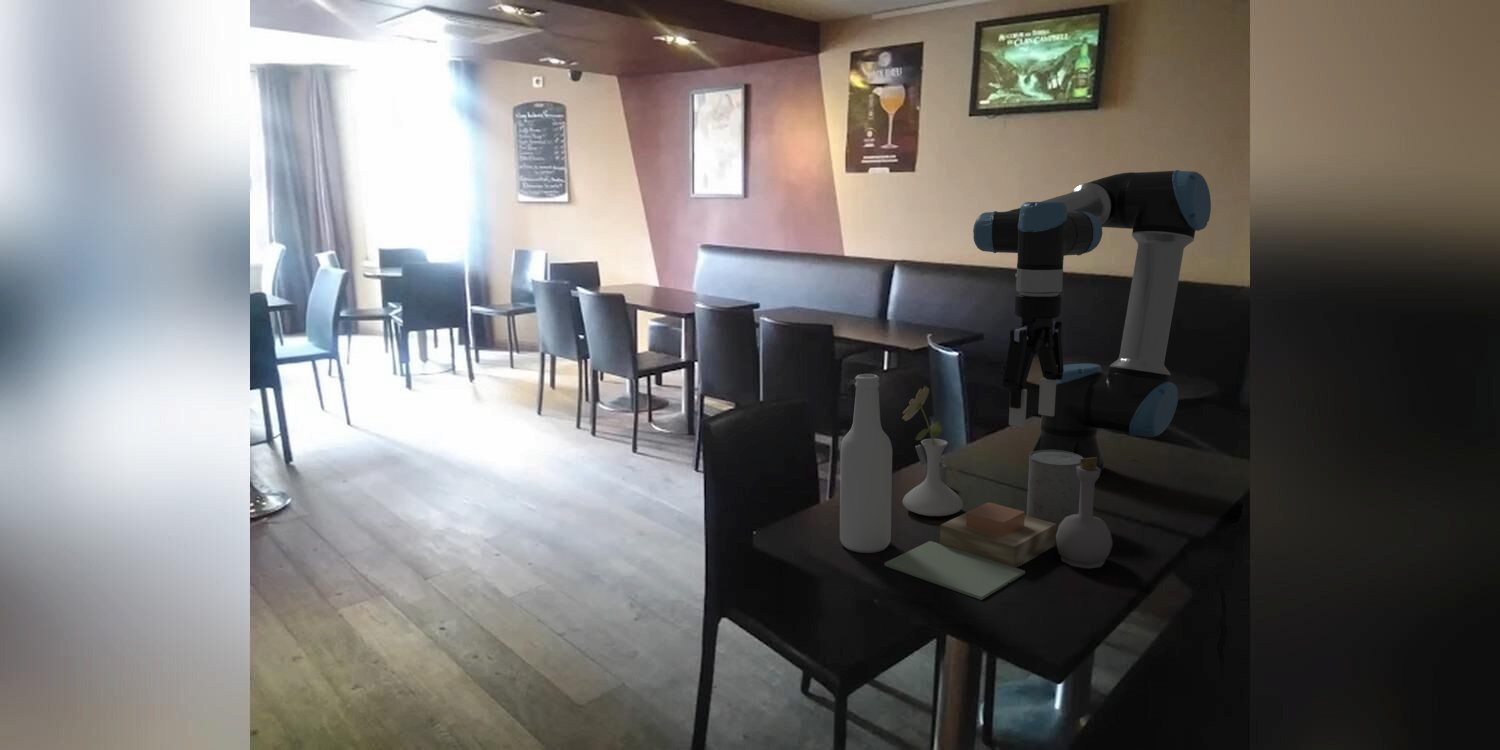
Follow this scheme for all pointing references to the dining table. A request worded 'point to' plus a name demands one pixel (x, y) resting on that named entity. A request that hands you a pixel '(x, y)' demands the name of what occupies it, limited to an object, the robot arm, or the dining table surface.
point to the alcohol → (866, 474)
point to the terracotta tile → (995, 519)
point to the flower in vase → (930, 470)
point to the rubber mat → (955, 569)
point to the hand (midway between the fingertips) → (1031, 420)
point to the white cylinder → (1053, 485)
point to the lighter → (923, 460)
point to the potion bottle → (1084, 525)
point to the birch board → (1000, 540)
